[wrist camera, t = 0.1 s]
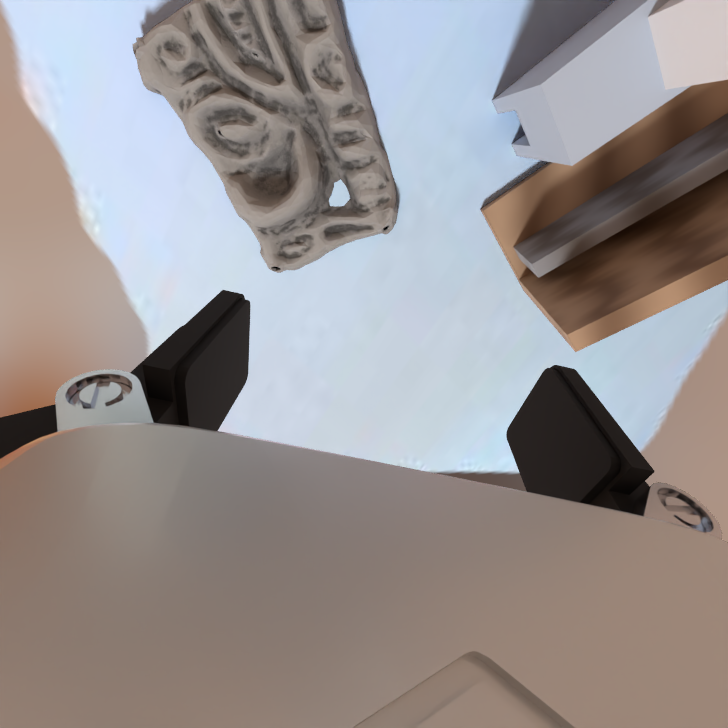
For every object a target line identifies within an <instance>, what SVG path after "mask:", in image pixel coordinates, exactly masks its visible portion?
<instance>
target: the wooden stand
mask: <svg viewBox="0 0 728 728" xmlns="http://www.w3.org/2000/svg"><path fill="white" fill-rule="evenodd" d="M480 210H481V212H482V213H483V215H484V217H485V219H486V221H487V223H488V225H489V226H490V228H491V230H492V232H493V234H494V236H495V238H496V240H497V241H498V243H499V245H500V247H501V249H502V251H503V253H504V255H505V256H506V258H507V260H508V262H509V264H510V266H511V268H512V270H513V271H514V273H515V275H516V277H517V279H518V281H519V283H520V285H521V286H522V288H523V290H524V291H525V293H526V294H527V295H528V296H529V297H530V298H531V300H532V301H533V302H534V303H535V304H536V306H537V307H538V308H539V309H540V310H541V312H542V313H543V314H544V315H545V316H546V317H547V319H548V320H549V321H550V322H551V323H552V325H553V326H554V327H555V328H556V329H557V331H558V332H559V333H560V334H561V335H562V336H563V338H564V339H565V340H566V341H567V342H568V344H569V345H570V346H571V347H572V348H573V350H574V351H575V352H577V351H579V350H581V349H583V348H585V347H587V346H589V345H591V344H593V343H596V342H598V341H600V340H602V339H604V338H606V337H608V336H610V335H613V334H615V333H617V332H619V331H621V330H623V329H625V328H627V327H629V326H632V325H634V324H636V323H638V322H640V321H642V320H644V319H646V318H648V317H651V316H653V315H655V314H657V313H659V312H661V311H663V310H665V309H668V308H670V307H672V306H674V305H676V304H678V303H680V302H682V301H684V300H687V299H689V298H691V297H693V296H695V295H697V294H699V293H701V292H704V291H706V290H708V289H710V288H712V287H714V286H716V285H718V284H720V283H723V282H725V281H727V280H728V80H722V81H716V82H710V83H704V84H697V85H692V86H690V87H689V88H687V89H686V90H684V91H683V92H681V93H680V94H678V95H677V96H675V97H674V98H672V99H671V100H669V101H668V102H666V103H665V104H663V105H662V106H660V107H659V108H657V109H656V110H654V111H653V112H651V113H650V114H648V115H647V116H646V117H644V118H643V119H641V120H640V121H638V122H637V123H635V124H634V125H632V126H631V127H629V128H628V129H626V130H625V131H623V132H622V133H620V134H619V135H617V136H616V137H614V138H613V139H611V140H610V141H608V142H607V143H605V144H604V145H602V146H601V147H599V148H598V149H596V150H595V151H593V152H592V153H591V154H589V155H588V156H586V157H585V158H583V159H582V160H580V161H579V162H577V163H576V164H574V165H573V166H570V165H564V164H559V163H553V162H548V163H547V164H545V165H544V166H542V167H541V168H540V169H538V170H537V171H535V172H534V173H532V174H531V175H529V176H528V177H527V178H525V179H524V180H522V181H521V182H519V183H518V184H516V185H515V186H514V187H512V188H511V189H509V190H508V191H506V192H505V193H504V194H502V195H501V196H499V197H498V198H496V199H495V200H493V201H492V202H491V203H489V204H488V205H486V206H485V207H483V208H482V209H480Z"/></svg>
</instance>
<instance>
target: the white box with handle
mask: <svg viewBox="0 0 728 728" xmlns="http://www.w3.org/2000/svg"><path fill="white" fill-rule="evenodd" d="M722 80H728V0H615V1H614V2H613V3H612V4H611V5H609V6H608V7H607V8H606V9H604V10H603V11H602V12H601V13H599V14H598V15H597V16H596V17H595V18H593V19H592V20H591V21H590V22H588V23H587V24H586V25H585V26H583V27H582V28H581V29H580V30H578V31H577V32H576V33H575V34H574V35H572V36H571V37H570V38H569V39H567V40H566V41H565V42H564V43H562V44H561V45H560V46H559V47H558V48H556V49H555V50H554V51H553V52H551V53H550V54H549V55H548V56H546V57H545V58H544V59H543V60H542V61H540V62H539V63H538V64H537V65H535V66H534V67H533V68H532V69H530V70H529V71H528V72H527V73H525V74H524V75H523V76H522V77H521V78H519V79H518V80H517V81H516V82H514V83H513V84H512V85H511V86H509V87H508V88H507V89H506V90H505V91H503V92H502V93H501V94H500V95H498V96H497V97H496V98H495V99H493V100H492V102H493V105H494V107H495V109H496V111H497V114H499V113H504V112H510V111H516V113H517V116H518V118H519V120H520V123H521V125H522V127H523V130H524V132H525V135H523V136H522V137H521V138H519V139H518V140H517V141H515V142H514V143H513V144H511V145H512V147H513V149H514V151H515V153H516V156H519V157H525V158H530V159H536V160H542V161H547V162H553V163H559V164H564V165H570V166H573V165H574V164H576V163H577V162H579V161H580V160H582V159H583V158H585V157H586V156H588V155H589V154H591V153H592V152H593V151H595V150H596V149H598V148H599V147H601V146H602V145H604V144H605V143H607V142H608V141H610V140H611V139H613V138H614V137H616V136H617V135H619V134H620V133H622V132H623V131H625V130H626V129H628V128H629V127H631V126H632V125H634V124H635V123H637V122H638V121H640V120H641V119H643V118H644V117H646V116H647V115H648V114H650V113H651V112H653V111H654V110H656V109H657V108H659V107H660V106H662V105H663V104H665V103H666V102H668V101H669V100H671V99H672V98H674V97H675V96H677V95H678V94H680V93H681V92H683V91H684V90H686V89H687V88H689V87H690V86H692V85H697V84H704V83H710V82H716V81H722Z"/></svg>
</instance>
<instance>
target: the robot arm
mask: <svg viewBox="0 0 728 728" xmlns="http://www.w3.org/2000/svg"><path fill="white" fill-rule="evenodd" d="M249 329H250V302H249V301H248V300H245V298H244V295H243V294H239V293H234V292H230V291H225V290H223V291H221V292H220V293H219V294H218V295H217V296H216V297H215V298H214V299H212V300H211V301H210V302H209V303H208V304H207V305H206V306H205V307H204V308H203V309H202V310H201V311H199V312H198V313H197V314H196V315H195V316H194V317H193V318H192V319H191V320H190V321H189V322H188V323H186V324H185V325H184V326H182V327H180V328H179V329H178V330H177V331H175V332H174V333H173V334H172V335H171V336H170V337H169V338H168V339H167V340H166V341H165V342H163V343H162V344H161V345H160V346H159V347H158V348H157V349H156V350H155V351H154V352H152V353H151V354H150V355H149V356H148V357H147V358H146V359H145V360H144V361H143V362H142V363H140V364H139V365H138V366H137V367H136V368H135V369H134V370H133V371H132V372H131V373H129V372H125V371H121V370H110V369H108V370H96V371H92V372H88V373H84V374H81V375H79V376H77V377H74V378H72V379H70V380H69V381H67V382H66V383H65V384H63V385H62V386H61V387H60V389H59V390H58V391H57V393H56V397H55V401H56V402H55V403H56V404H55V405H51V406H47V407H43V408H38V409H34V410H31V411H26V412H22V413H18V414H14V415H10V416H5V417H2V418H0V728H728V542H726V541H724V540H722V531H721V527H720V524H719V523H718V521H717V520H716V518H715V517H714V516H713V514H712V513H711V512H710V511H709V510H708V509H707V508H706V507H705V506H704V505H703V504H701V503H700V502H699V501H698V500H697V499H695V498H694V497H692V496H691V495H690V494H688V493H686V492H685V491H683V490H681V489H679V488H677V487H675V486H672V485H669V484H667V483H661V482H658V483H653V484H652V485H651V486H650V487H649V486H648V484H647V483H646V482H645V480H646V479H647V478H648V477H649V476H650V475H652V473H654V470H653V469H652V467H651V466H650V465H649V464H648V462H647V461H646V460H645V459H644V457H643V456H642V455H641V453H640V452H639V451H638V449H637V448H636V447H635V446H634V444H633V443H632V442H631V440H630V439H629V438H628V437H627V435H626V434H625V433H624V431H623V430H622V429H621V428H620V426H619V425H618V424H617V422H616V421H615V420H614V419H613V417H612V416H611V415H610V413H609V412H608V411H607V410H606V408H605V407H604V406H603V404H602V403H601V402H600V401H599V399H598V398H597V397H596V395H595V394H594V393H593V392H592V390H591V389H590V388H589V386H588V385H587V384H586V383H585V381H584V380H583V379H582V377H581V376H580V375H579V374H578V372H577V371H576V370H575V369H571V368H567V367H562V366H558V365H554V366H552V367H551V368H547V369H545V370H544V372H543V373H542V375H541V376H540V378H539V379H538V381H537V383H536V384H535V386H534V387H533V389H532V391H531V392H530V394H529V395H528V397H527V399H526V400H525V402H524V403H523V405H522V407H521V408H520V410H519V411H518V413H517V415H516V416H515V418H514V419H513V421H512V423H511V424H510V426H509V427H508V430H507V440H508V443H509V445H510V448H511V451H512V453H513V456H514V459H515V461H516V464H517V467H518V469H519V472H520V475H521V477H522V480H523V482H524V485H525V487H526V490H527V492H525V491H520V490H515V489H510V488H505V487H500V486H495V485H490V484H485V483H480V482H475V481H470V480H465V479H460V478H455V477H450V476H445V475H440V474H435V473H430V472H425V471H420V470H415V469H410V468H405V467H400V466H395V465H390V464H385V463H380V462H375V461H370V460H365V459H360V458H355V457H350V456H345V455H340V454H335V453H330V452H325V451H320V450H315V449H309V448H304V447H299V446H294V445H289V444H284V443H279V442H273V441H268V440H263V439H258V438H253V437H248V436H243V435H237V434H231V433H225V432H219V431H218V429H219V427H220V426H221V424H222V422H223V421H224V419H225V417H226V415H227V414H228V412H229V410H230V409H231V407H232V405H233V404H234V402H235V400H236V398H237V397H238V395H239V393H240V392H241V390H242V388H243V386H244V385H245V383H246V380H247V376H248V360H249Z"/></svg>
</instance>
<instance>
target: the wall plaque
mask: <svg viewBox="0 0 728 728" xmlns="http://www.w3.org/2000/svg"><path fill="white" fill-rule="evenodd" d="M235 33H236V34H235ZM136 40H137V42H136V43H134V44H133V51H134V54H135V56H136V59H137V63H138V69H139V72H140V75H141V78H142V81H143V84H144V86H145V87H146V88H147V89H148V90H150V91H152V92H155V93H158V94H160V95H163V96H164V97H165V98H166V100H167V101H168V102H169V104H170V105H171V107H172V108H173V109H174V111H175V112H176V113H177V115H178V116H179V117H180V119H181V120H182V122H183V124H184V126H185V129H186V131H187V133H188V135H189V137H190V138H191V140H192V141H193V142H194V144H195V145H196V146H197V147H198V148H199V149H200V150H201V151H202V152H203V153H204V154H205V155H206V156H207V158H208V159H209V160H210V162H211V163H212V164H213V166H214V168H215V170H216V171H217V173H218V175H219V176H220V178H221V180H222V182H223V183H224V186H225V190H226V193H227V195H228V197H229V199H230V200H231V202H232V204H233V206H234V208H235V210H236V212H237V214H238V215H239V216H240V217H241V218H242V219H243V220H245V222H246V223H247V224H248V225H249V226H250V228H251V229H252V231H253V233H254V234H255V236H256V238H257V239H258V241H259V243H260V246H261V252H260V253H261V255H262V257H263V259H264V260H265V262H266V264H267V266H268V268H269V269H270V270H272V271H275V272H277V273H279V272H283V271H285V270H296V269H299V268H301V267H303V266H305V265H307V264H309V263H311V262H313V261H316V260H318V259H319V258H321V257H322V256H323V255H325V254H326V253H328V252H329V251H332V250H334V249H336V248H337V247H339V246H341V245H344V244H346V243H349V242H352V241H354V240H357V239H362V238H365V237H369V236H373V235H377V234H380V233H383V234H388V233H389V232H390V231H391V230H392V229H393V226H394V225H395V223H396V219H397V213H398V209H397V203H396V199H397V197H396V190H395V183H394V179H393V175H392V172H391V168H390V164H389V160H388V157H387V154H386V152H385V150H384V149H383V147H382V145H381V142H380V137H379V133H378V130H377V125H376V121H375V117H374V114H373V110H372V107H371V103H370V100H369V97H368V94H367V91H366V89H365V86H364V84H363V81H362V79H361V77H360V75H359V73H358V71H357V70H356V68H355V63H354V60H353V57H352V54H351V52H350V50H349V47H348V44H347V40H346V36H345V31H344V27H343V23H342V19H341V15H340V11H339V7H338V3H337V0H192V1H191V2H190V3H188V4H187V5H185V6H183V7H182V8H180V9H179V10H178V11H176V12H175V13H174V14H172V15H171V16H170V17H168V18H167V19H165V20H164V21H162V22H161V23H159V24H157V25H156V26H154V27H153V28H152V29H151V30H150V31H149V32H148V33H147V34H146V35H145V36H144V37H141V38H136ZM253 53H254V54H253ZM255 54H257V56H258V57H257V56H256V55H255ZM219 130H220V132H221V134H222V135H223V136H222V135H220V134H219V132H218V131H219ZM340 179H341V180H342V181H343V183H344V184H345V185H346V187H347V189H348V191H349V195H350V200H349V201H348V202H347V203H346V204H345V206H342V207H333V206H330V205H329V198H330V196H331V194H332V190H333V187H334V182H337V181H338V180H340ZM386 226H389V227H388V228H387V229H385V230H384V229H383V228H384V227H386ZM274 267H278V268H279V269H277V268H274Z"/></svg>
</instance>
